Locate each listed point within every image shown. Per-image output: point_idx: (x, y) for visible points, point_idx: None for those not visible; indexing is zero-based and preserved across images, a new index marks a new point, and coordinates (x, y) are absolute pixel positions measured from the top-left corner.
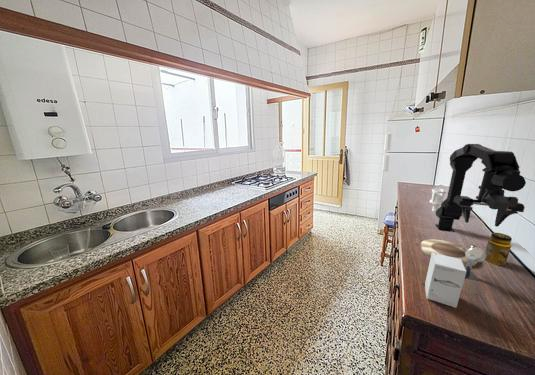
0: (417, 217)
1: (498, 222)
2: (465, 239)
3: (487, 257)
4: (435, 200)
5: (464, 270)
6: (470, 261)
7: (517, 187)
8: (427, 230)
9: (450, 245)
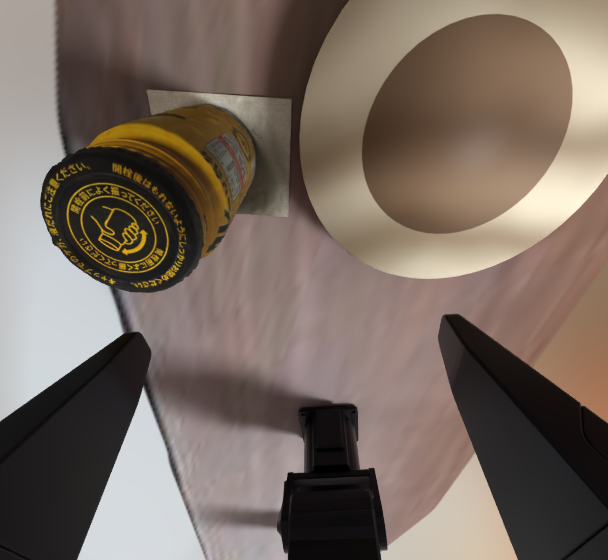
0: (401, 473)
1: (100, 373)
2: (274, 362)
3: (242, 139)
4: None
5: None
6: None
7: None
8: (411, 387)
9: (408, 226)
